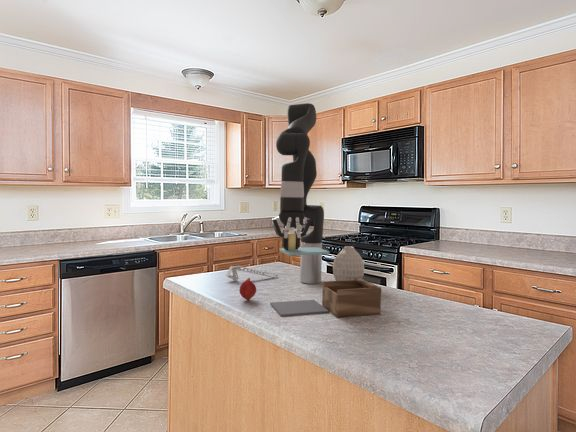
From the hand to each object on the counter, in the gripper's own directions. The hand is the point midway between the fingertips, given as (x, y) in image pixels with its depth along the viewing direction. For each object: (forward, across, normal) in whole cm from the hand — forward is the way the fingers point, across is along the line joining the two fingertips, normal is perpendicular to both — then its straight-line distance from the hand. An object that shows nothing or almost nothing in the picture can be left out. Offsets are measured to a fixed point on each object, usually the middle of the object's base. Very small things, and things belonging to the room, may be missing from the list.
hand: (290, 249), depth 119 cm
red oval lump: (+20, +11, -14) cm, 27 cm away
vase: (+20, -33, -23) cm, 45 cm away
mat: (+20, -3, 0) cm, 20 cm away
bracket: (+21, +2, -45) cm, 50 cm away
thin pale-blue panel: (+1, -4, 0) cm, 5 cm away
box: (+20, -19, +6) cm, 28 cm away
